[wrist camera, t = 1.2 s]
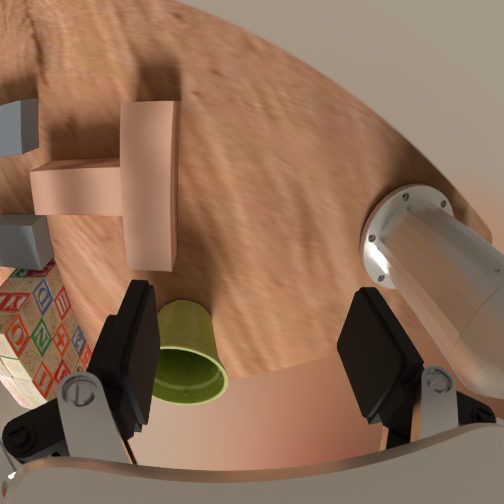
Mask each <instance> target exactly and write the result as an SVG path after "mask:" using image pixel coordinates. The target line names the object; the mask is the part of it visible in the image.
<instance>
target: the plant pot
mask: <svg viewBox="0 0 504 504" xmlns="http://www.w3.org/2000/svg"><path fill="white" fill-rule="evenodd" d="M157 318H158V326H159V334H160V343H161V344H160V353H159V358H158V363H157V369H156V375H155V380H154V386H153V392H152V397H153V398H155V399H157V400H160V401H163V402H167V403H171V404H177V405H197V404H202V403H207V402H209V401H212V400H214V399H216V398H218V397H219V396H220V395H221V394H223V393H224V391H225V390H226V388H227V386H228V375H227V372H226V370H225V368H224V366H223V365H222V364H221V361H220V359H219V357H218V354H217V348H216V343H215V337H214V331H213V325H212V319H211V316H210V315H209V314H208V312H207V311H206V310H205V308H204V307H203V306H201V305H200V304H198V303H196V302H193V301H189V300H176V301H174V302H172V303H169V304H167V305H164V306H163V307H162V309H161V310H160V312H159V314H158V316H157Z"/></svg>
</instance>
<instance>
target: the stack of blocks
mask: <svg viewBox="0 0 504 504" xmlns="http://www.w3.org/2000/svg"><path fill="white" fill-rule="evenodd" d="M91 356H92V353H91V351H90V349H89V346H88V344H87V342H86V341H85V338H84V336H83V334H82V332H81V329H80V327H79V325H78V323H77V320H76V318H75V315H74V313H73V310H72V308H71V304H70V302H69V299H68V296H67V293H66V291H65V288H64V285H63V282H62V279H61V276H60V273H59V270H58V267H57V264H56V263H48V264H47V265H46V266H45V267H44V268H43V270H31V269H21V268H16V269H15V270H14V271H13V273H12V274H11V275H10V276H9V277H8V279H7V280H6V281H5V282H4V283H3V284H2V285H1V286H0V381H1V382H2V383H3V384H4V386H5V387H6V388H7V389H8V390H9V392H10V393H11V395H12V396H13V397H14V398H15V399H16V401H17V402H18V403H19V404H20V405H21V406H22V407H25V408H29V409H35V408H37V407H39V406H41V405H43V404H44V403H46V402H48V401H50V400H52V399H54V398H56V397H57V388H58V385H59V383H60V382H61V380H62V379H63V378H64V377H66V376H67V375H68V374H71V373H74V372H80V371H83V372H86V369H87V367H88V364H89V361H90V359H91Z"/></svg>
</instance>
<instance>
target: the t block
mask: <svg viewBox="0 0 504 504" xmlns="http://www.w3.org/2000/svg"><path fill="white" fill-rule="evenodd" d="M180 114H181V101H145V102H124V103H121V111H120V158H92V159H74V160H59V161H51V162H48V163H46V164H44V165H42V166H40V167H38V168H36V169H34V170H32V171H30V180H31V189H32V196H33V203H34V210H35V215H102V216H123V227H124V238H125V248H126V257H127V265H128V269H133V270H150V271H169V272H172V269H173V265H174V262H175V258H176V254H177V250H178V238H177V192H178V154H179V132H180Z"/></svg>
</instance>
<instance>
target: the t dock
mask: <svg viewBox="0 0 504 504" xmlns="http://www.w3.org/2000/svg"><path fill="white" fill-rule="evenodd" d="M36 148H39V142H38V98H34V99H26V100H19V101H15V102H11V103H8V104H4V105H0V157H6V156H13V155H20V154H24V153H26V152H29V151H31V150H34V149H36ZM53 257H54V255H53V250H52V245H51V240H50V235H49V230H48V224H47V219H46V215H35V214H1V215H0V266H2V267H12V268H21V269H31V270H43V268H44V267H45V266H46V265H47V264H48V262H49V261H50V260H51V259H52V258H53Z"/></svg>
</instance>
